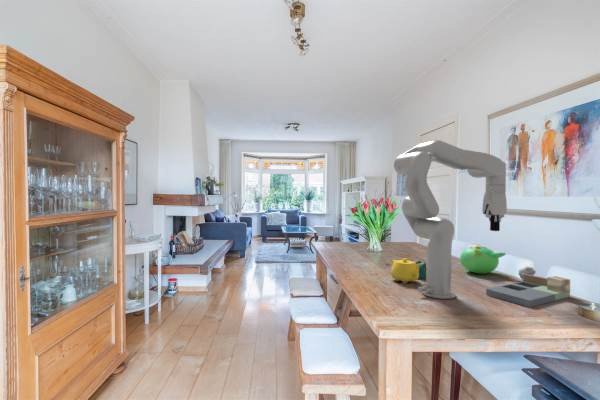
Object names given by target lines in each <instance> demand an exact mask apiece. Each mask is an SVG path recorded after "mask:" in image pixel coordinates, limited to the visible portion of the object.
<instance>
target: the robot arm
mask: <svg viewBox="0 0 600 400" xmlns="http://www.w3.org/2000/svg"><path fill="white" fill-rule="evenodd" d="M432 162H434V163H438V164H440V165H443V166H446V167H448V168H452V169H454V170H455V169H456V170H467V174H468V175H469V176H471V177H472V178H476V179H477V178H478V179H479V178H485V192H484V195H483V200H482V207H481V209H482V211H481V212H482V214H483V215H485V217H486V218H487V219H488V220H489V222H490V223H489V224H490V226H489V231H493V232H499V231H501V229H500V227H501V225H500V224H501V222H502V221H501V220H502V219H503V218H504V217H505V215H506V214H507V212H508V211H507V210H508V209H507V208H508V207H507V206H508V205H507V195H506V191H507V190H506V189H507V187H506V186H507V184H506V183H507V181H506V180H507V164H506V162H505V161H503V160H502V159H501V158H499V157H497V156H495V155H493V154H490V153H486V152H481V151H475V150H470V149H469V150H468V149H464V148H460V147H458V146H455V145H452V144H451V143H448V142H446V141H443V140H441V139H440V140H437V139H435V140H430V141H427V142H422V143H419V144H417V145H416V146H414V147H412V148H410V149H409V150H406V151H405V152H403V153H402V154H400V155H398V156H397V157H396V158H395V160H394V161H393V168H394V170H395V172H396V173H397V174H399V175H403V176H405V175H406V178H405V183H404V189H405V192H406V194H407V196H406V197H405V198H404V200H403V201H402V203H401V210H402V213H403V215H404V218H405V220H406V221H407V223H408V225H409V226H410V229H411V230H412V231H413V233H414V234H415V236H417V237H419V238H421V239H428V240H429V241H428V243H427V246H426V247H425V248H426V250H425V263H426V279H425V282H424V285H422V286H418V287H417V291H418V292H419V293H422V294H423V295H425V296H427V297H428V298H429V297H430V298H433V299H434V298H435V299H439V300H440V299H441V300H449V299H450V300H451V299H454V298H456V296H457V294H456V292H455V291H454V290H452V246H453V238H454V235H455V226H454V224H453V222H452V221H451V220H450V219H448V218H445V217H441V216H440V217H439V216H438V215H439V214H440V213H439V212H440V206H439V204H438V201H437V200H436V198H435V196H434V194H433V192H432V190H431V188H430V187H429V184H428V180H427V179H428V173H429V170H430V168H431V165H432Z"/></svg>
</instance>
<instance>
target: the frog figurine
mask: <svg viewBox="0 0 600 400" xmlns="http://www.w3.org/2000/svg"><path fill="white" fill-rule="evenodd" d="M524 274H528V275H533V276H535V274H536V270H535V269H534V267H531V266H525V267H523V268H520V269H518V276H519V277H520V279H521V280H522V281H524Z"/></svg>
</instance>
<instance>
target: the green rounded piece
mask: <svg viewBox="0 0 600 400" xmlns="http://www.w3.org/2000/svg"><path fill="white" fill-rule="evenodd" d="M506 255H507V254H506V252H495V251H494V250H492V249H490V248H488V247H485V246H481V245H480V244H475V245H474V246H471V247H467V248H465V249H464V250H463V251H462V252H461V254H460V257H459V260H460V261H459V262H460V264H461V266H462V267H463V268H464V269H465V270H466V271H469V272H472V273H474V274H489V273H491V272H494V271H495V270H496V269H497V268H498V266H499V263H500V261H499V259H500V258H501V257H502V258H503V257H504V256H506Z"/></svg>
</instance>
